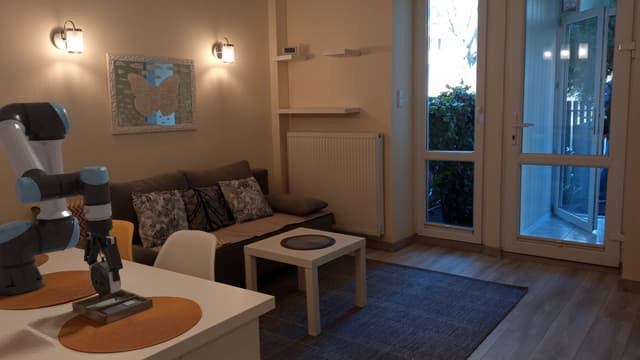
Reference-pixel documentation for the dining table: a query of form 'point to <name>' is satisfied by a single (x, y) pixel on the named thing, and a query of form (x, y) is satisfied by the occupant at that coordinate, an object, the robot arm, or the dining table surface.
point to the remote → (120, 306)
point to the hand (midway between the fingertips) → (105, 287)
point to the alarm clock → (102, 278)
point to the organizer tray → (94, 306)
